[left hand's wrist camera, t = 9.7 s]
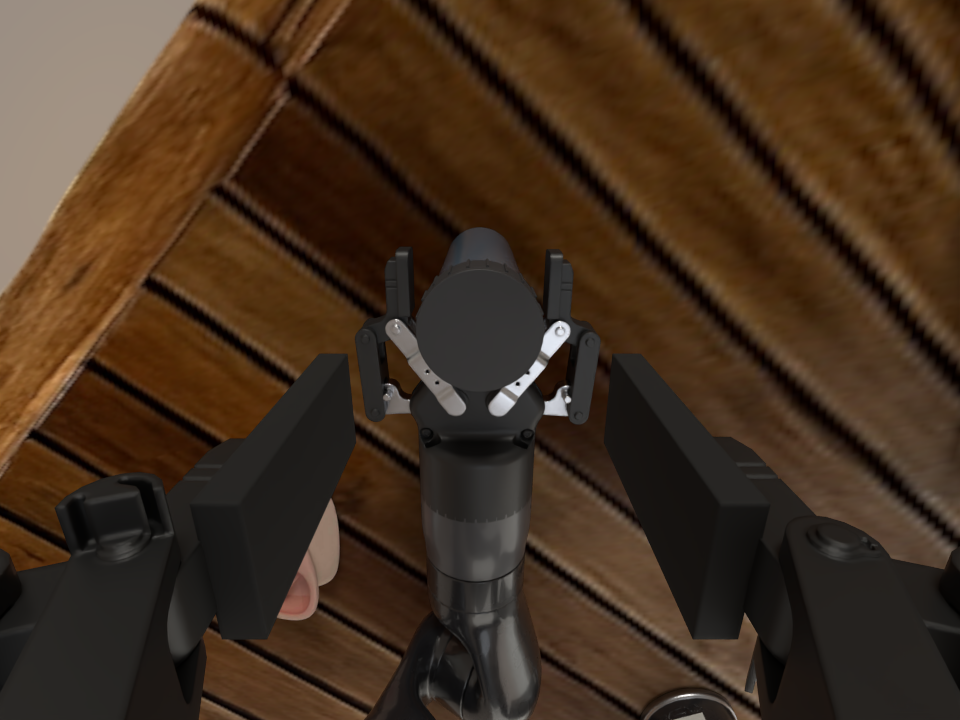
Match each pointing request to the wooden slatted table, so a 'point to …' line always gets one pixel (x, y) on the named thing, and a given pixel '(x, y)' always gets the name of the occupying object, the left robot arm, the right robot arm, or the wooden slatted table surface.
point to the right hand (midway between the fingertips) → (478, 249)
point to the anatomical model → (314, 569)
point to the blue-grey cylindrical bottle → (479, 249)
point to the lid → (479, 326)
